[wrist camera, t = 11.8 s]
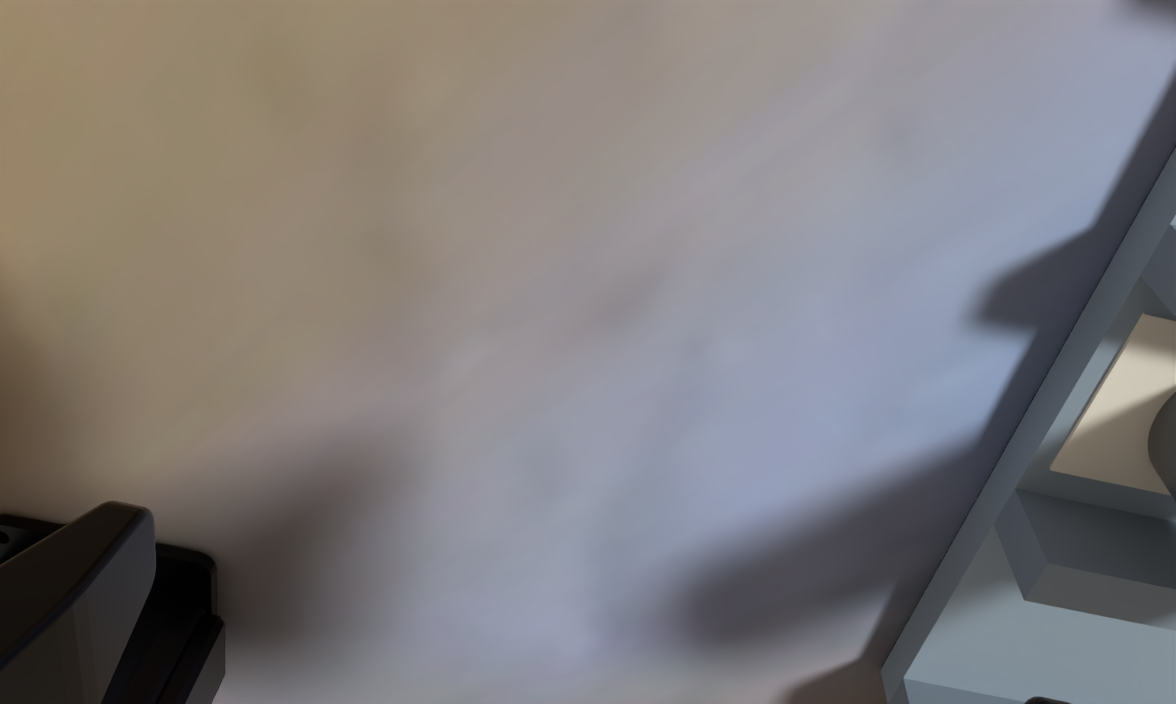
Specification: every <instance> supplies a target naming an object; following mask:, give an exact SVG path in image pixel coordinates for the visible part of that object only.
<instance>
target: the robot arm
mask: <svg viewBox="0 0 1176 704" xmlns="http://www.w3.org/2000/svg"><path fill="white" fill-rule="evenodd" d="M224 675H225V623H224V621H223V619H222V618H221V616H220V615H217V567H216V564H215V562H214V561H213V559H212V558H210V557H209V556H207V555H206V554H203V553H200V552H196V551H190V550H185V549H180V548H175V547H170V546H165V545H160V544H155V531H154V518H153V514H152V512H151V511H150V510H149V509H148V508H146V507H142V506H137V505H133V504H128V503H123V502H118V501H108V502H105V503H103V504H101V505H99V506H97V507H95V508H94V509H92V510H90V511H89V512H87V513H86V514H84V515H82V516H81V517H79V518H77V519H76V520H74V521H72V522H71V523H69V524H67V525H66V526H62V525H56V524H51V523H46V522H41V521H36V520H31V519H25V518H20V517H15V516H10V515H1V514H0V704H212V702H213V699H214V697H215V695H216V693H217V691H218V689H219V686H220V684H221V682H222V680H223V678H224ZM1024 704H1071V703H1068V702H1064V701H1060V700H1055V699H1050V698H1045V697H1041V696H1034V697H1032V698H1030V699H1028V700H1027V701H1026V702H1025V703H1024Z"/></svg>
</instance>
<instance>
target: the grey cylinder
mask: <svg viewBox="0 0 1176 704" xmlns="http://www.w3.org/2000/svg"><path fill="white" fill-rule="evenodd" d="M1148 454H1149V459H1150V461H1151V463H1152V466H1153V467H1154V469H1155V471H1156V472H1157V474H1158V475H1159V477H1160V478H1161V480H1162V481H1163V483H1164V485H1165V486H1166V488H1167V489H1168V491H1169V492H1170V494H1171V496H1172V497H1173V499H1174V500H1175V502H1176V392H1175V393H1174V394H1173V395H1172V396H1171V397H1170V398H1169V399H1168V400H1167V401H1166V402H1165V404H1164V405H1163V406H1162V407H1161V409H1160V410H1159V412H1158V413H1157V415H1156V417H1155V419H1154V421H1153V423H1152V425H1151V428H1150V431H1149V436H1148Z"/></svg>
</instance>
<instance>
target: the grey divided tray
mask: <svg viewBox="0 0 1176 704" xmlns="http://www.w3.org/2000/svg"><path fill="white" fill-rule="evenodd" d="M1175 392H1176V147H1175V149H1174V151H1173V152H1172V154H1171V156H1170V158H1169V159H1168V161H1167V163H1166V165H1165V167H1164V168H1163V170H1162V172H1161V174H1160V175H1159V177H1158V179H1157V181H1156V183H1155V184H1154V186H1153V188H1152V190H1151V191H1150V193H1149V195H1148V197H1147V198H1146V200H1145V202H1144V204H1143V206H1142V207H1141V209H1140V211H1139V213H1138V214H1137V216H1136V218H1135V220H1134V222H1133V223H1132V225H1131V227H1130V229H1129V230H1128V232H1127V234H1126V236H1125V237H1124V239H1123V241H1122V243H1121V245H1120V246H1119V248H1118V250H1117V252H1116V253H1115V255H1114V257H1113V259H1112V261H1111V262H1110V264H1109V266H1108V268H1107V269H1106V271H1105V273H1104V275H1103V277H1102V278H1101V280H1100V282H1099V284H1098V285H1097V287H1096V289H1095V291H1094V292H1093V294H1092V296H1091V298H1090V300H1089V301H1088V303H1087V305H1086V307H1085V308H1084V310H1083V312H1082V314H1081V316H1080V317H1079V319H1078V321H1077V323H1076V324H1075V326H1074V328H1073V330H1072V331H1071V333H1070V335H1069V337H1068V339H1067V340H1066V342H1065V344H1064V346H1063V347H1062V349H1061V351H1060V353H1059V355H1058V356H1057V358H1056V360H1055V362H1054V363H1053V365H1052V367H1051V369H1050V370H1049V372H1048V374H1047V376H1046V378H1045V379H1044V381H1043V383H1042V385H1041V386H1040V388H1039V390H1038V392H1037V394H1036V395H1035V397H1034V399H1033V401H1032V402H1031V404H1030V406H1029V408H1028V410H1027V411H1026V413H1025V415H1024V417H1023V418H1022V420H1021V422H1020V424H1019V425H1018V427H1017V429H1016V431H1015V433H1014V434H1013V436H1012V438H1011V440H1010V441H1009V443H1008V445H1007V447H1006V449H1005V450H1004V452H1003V454H1002V456H1001V457H1000V459H999V461H998V463H997V464H996V466H995V468H994V470H993V472H992V473H991V475H990V477H989V479H988V480H987V482H986V484H985V486H984V488H983V489H982V491H981V493H980V495H979V496H978V498H977V500H976V502H975V504H974V505H973V507H972V509H971V511H970V512H969V514H968V516H967V518H966V519H965V521H964V523H963V525H962V527H961V528H960V530H959V532H958V534H957V535H956V537H955V539H954V541H953V543H952V544H951V546H950V548H949V550H948V551H947V553H946V555H945V557H944V558H943V560H942V562H941V564H940V566H939V567H938V569H937V571H936V573H935V574H934V576H933V578H932V580H931V582H930V583H929V585H928V587H927V589H926V590H925V592H924V594H923V596H922V598H921V599H920V601H919V603H918V605H917V606H916V608H915V610H914V612H913V613H912V615H911V617H910V619H909V621H908V622H907V624H906V626H905V628H904V629H903V631H902V633H901V635H900V637H899V638H898V640H897V642H896V644H895V645H894V647H893V649H892V651H891V652H890V654H889V656H888V658H887V660H886V661H885V663H884V665H883V667H882V668H881V670H880V672H881V677H882V681H883V686H884V690H885V695H886V699H887V704H1024V703H1025V702H1026V701H1027V700H1028V699H1030V698H1032V697H1034V696H1041V697H1045V698H1050V699H1055V700H1060V701H1064V702H1068V703H1071V704H1176V502H1175V500H1174V499H1173V497H1172V496H1171V494H1170V492H1169V491H1168V489H1167V488H1166V486H1165V485H1164V483H1163V481H1162V480H1161V478H1160V477H1159V475H1158V474H1157V472H1156V471H1155V469H1154V467H1153V466H1152V463H1151V461H1150V459H1149V454H1148V436H1149V431H1150V428H1151V425H1152V423H1153V421H1154V419H1155V417H1156V415H1157V413H1158V412H1159V410H1160V409H1161V407H1162V406H1163V405H1164V404H1165V402H1166V401H1167V400H1168V399H1169V398H1170V397H1171V396H1172V395H1173V394H1174V393H1175Z"/></svg>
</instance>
